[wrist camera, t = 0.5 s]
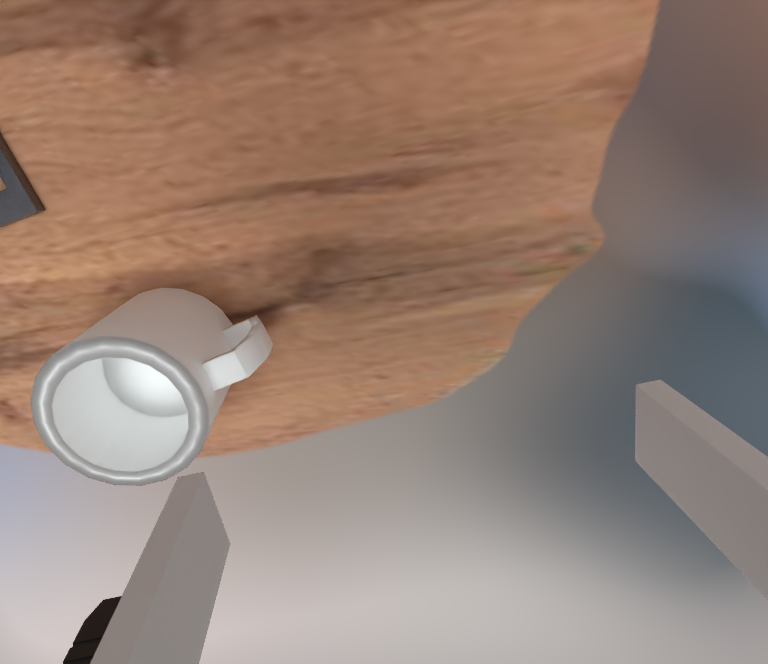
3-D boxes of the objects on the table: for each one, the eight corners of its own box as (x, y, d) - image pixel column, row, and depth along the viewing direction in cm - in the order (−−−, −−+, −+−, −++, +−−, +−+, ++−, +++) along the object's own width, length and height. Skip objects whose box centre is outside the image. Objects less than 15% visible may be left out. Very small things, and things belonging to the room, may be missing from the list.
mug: (241, 250, 38) (208, 286, 28) (299, 363, 42) (287, 431, 32) (81, 317, 39) (-8, 375, 29) (151, 423, 42) (93, 508, 32)
